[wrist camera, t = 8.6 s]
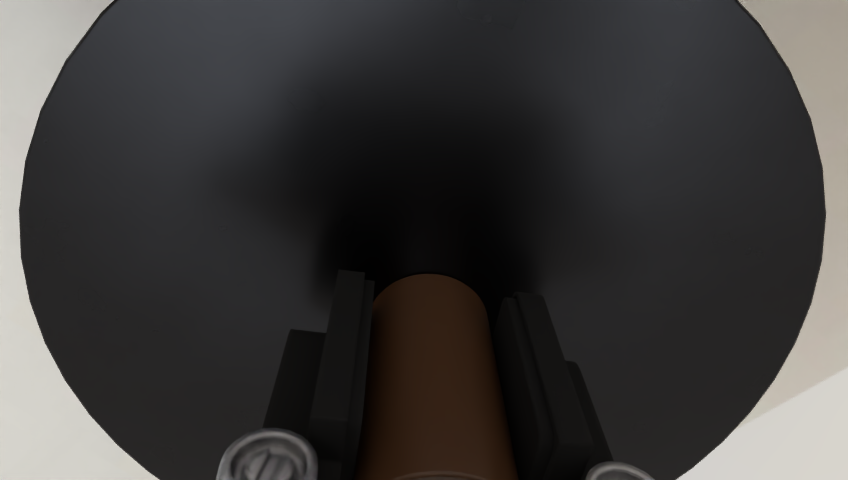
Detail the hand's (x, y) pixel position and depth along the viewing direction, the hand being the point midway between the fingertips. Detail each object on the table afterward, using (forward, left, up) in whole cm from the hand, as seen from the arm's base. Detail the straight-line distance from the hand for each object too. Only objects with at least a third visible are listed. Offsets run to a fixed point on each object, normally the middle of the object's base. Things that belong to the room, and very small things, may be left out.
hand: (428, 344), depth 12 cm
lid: (0, 0, -1) cm, 1 cm away
